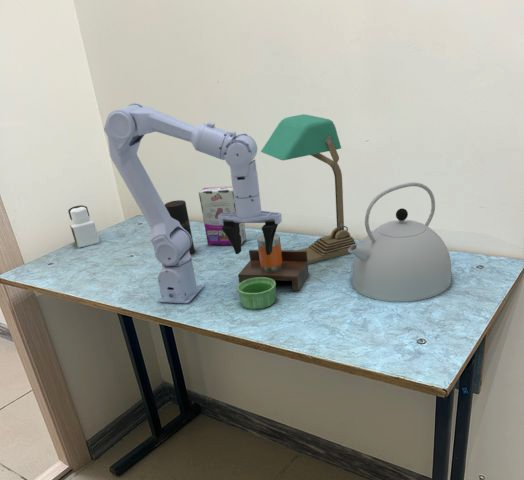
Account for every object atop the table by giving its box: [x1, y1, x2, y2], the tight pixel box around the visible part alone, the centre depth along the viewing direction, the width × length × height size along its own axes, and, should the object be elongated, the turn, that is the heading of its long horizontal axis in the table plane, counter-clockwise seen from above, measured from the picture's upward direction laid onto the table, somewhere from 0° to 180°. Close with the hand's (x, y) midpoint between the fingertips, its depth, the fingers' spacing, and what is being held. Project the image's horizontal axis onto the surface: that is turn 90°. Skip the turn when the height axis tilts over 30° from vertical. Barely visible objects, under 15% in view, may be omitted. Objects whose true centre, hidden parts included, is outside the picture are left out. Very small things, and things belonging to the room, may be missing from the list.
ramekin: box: [236, 277, 277, 310], centre depth 126 cm, size 9×9×4 cm
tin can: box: [256, 233, 283, 273], centre depth 131 cm, size 6×6×8 cm
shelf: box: [237, 249, 310, 293], centre depth 134 cm, size 10×15×6 cm, turn 71°
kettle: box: [348, 181, 452, 303], centre depth 122 cm, size 25×23×22 cm
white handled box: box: [67, 204, 101, 249], centre depth 177 cm, size 7×7×12 cm
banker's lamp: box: [260, 113, 357, 265], centre depth 139 cm, size 16×21×35 cm
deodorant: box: [164, 199, 196, 256], centre depth 157 cm, size 6×6×15 cm
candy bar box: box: [198, 185, 247, 246], centre depth 160 cm, size 11×5×16 cm, turn 73°
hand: (253, 252), depth 126 cm, fingers open, 7 cm apart
